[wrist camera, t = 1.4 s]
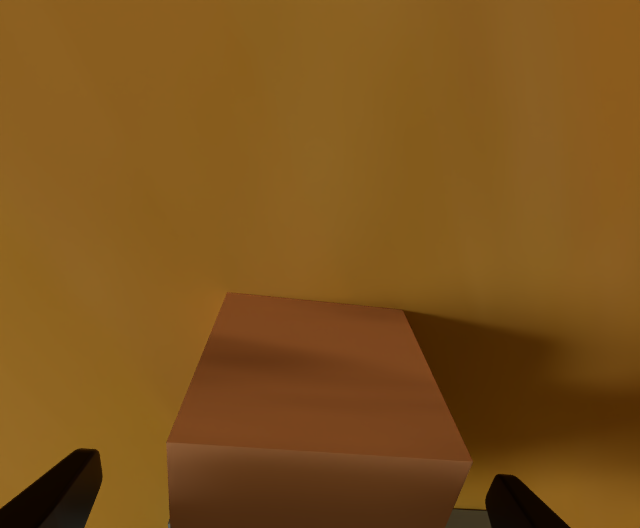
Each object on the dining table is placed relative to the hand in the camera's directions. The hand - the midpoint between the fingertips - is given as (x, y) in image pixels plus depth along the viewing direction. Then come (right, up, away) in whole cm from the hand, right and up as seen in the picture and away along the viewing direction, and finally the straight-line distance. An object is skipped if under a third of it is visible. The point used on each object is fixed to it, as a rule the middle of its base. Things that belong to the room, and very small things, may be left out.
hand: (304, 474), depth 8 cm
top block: (0, +1, +3) cm, 4 cm away
